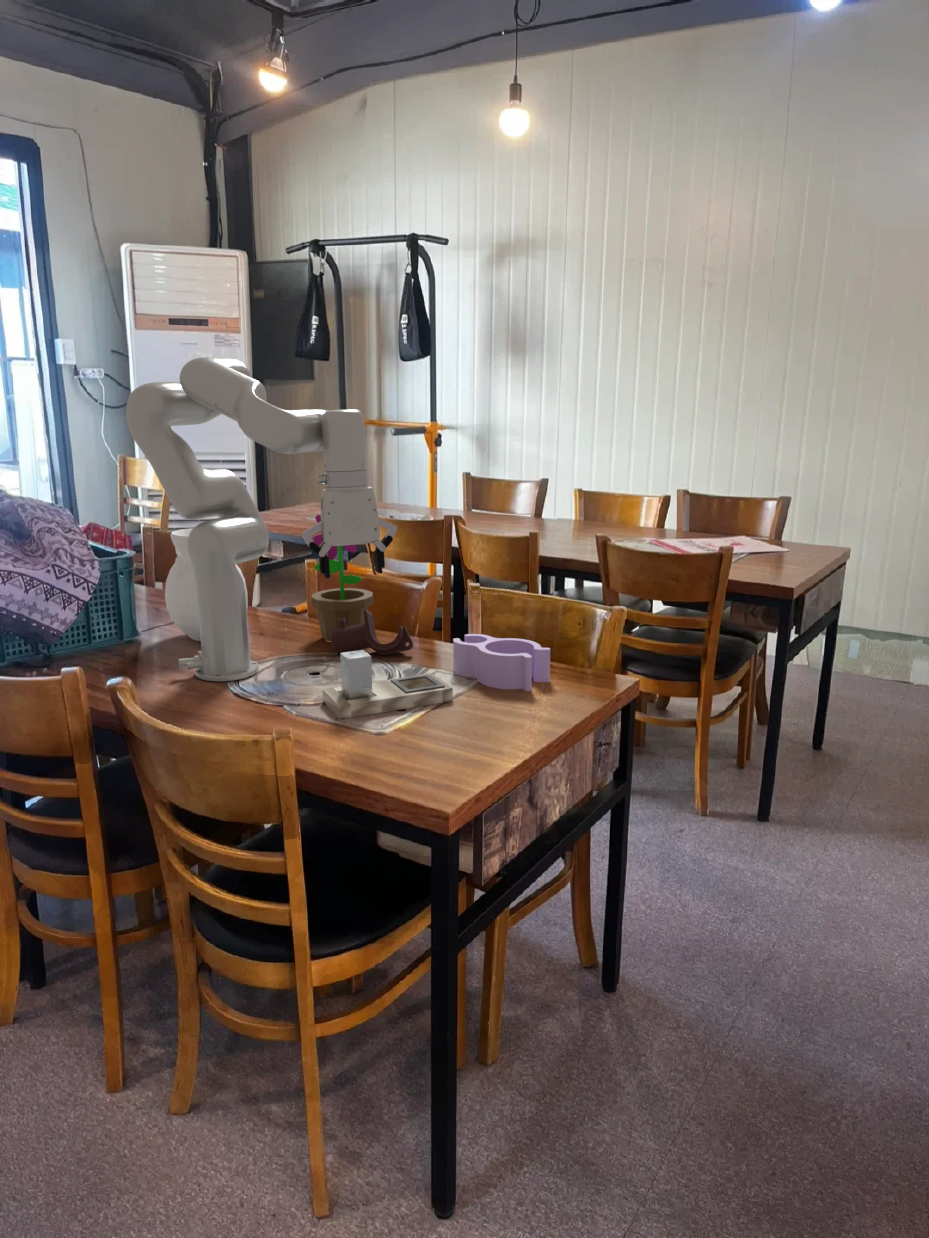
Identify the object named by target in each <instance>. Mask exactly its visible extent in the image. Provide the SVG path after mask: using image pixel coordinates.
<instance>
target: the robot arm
mask: <svg viewBox="0 0 929 1238" xmlns="http://www.w3.org/2000/svg"><path fill="white" fill-rule="evenodd" d="M267 397H268V396H267V391H266V388H265V385H264V384H263V383H261V382H260V380H257V379H255V378H253V376H252V374H251V371H250V370H249V368H248V367H247V366H246V365H245V364H244V363H243V362H242V361H240V360H238V359H235V358H230V357H207V356H205V357H204V356H203V357H195V358H194V359H190V360H189V361H187V362H186V363H185V364H184V365H183V367H182V368H181V370H180V374H179V381H156V382H154V381H153V382H148V383H144V384H142V385H139V386H138V387H136V388H135V389H133V390H132V391H131V392H130V394H129V396H128V398H127V402H126V406H125V407H126V408H125V409H126V410H125V413H126V414H125V415H126V417H125V418H126V423H127V426H128V430H129V432H130V434H131V436H132V439H133V440H134V442H135V443H136V445H137V447H138V448H139V449H140V451H141V452H142V453H143V455H144V456H145V457H146V460H147V461H148V462H149V464H150V465H151V467H152V469H153V471H154V473H155V475H156V478H157V479H158V481H159V483H160V485H161V487H162V488H163V490H164V492H165V495H166V496H167V498H168V500H169V502H170V504H171V505H172V507H173V509H174V510H175V512H176V513H177V514H178V516H179V517H181V518H183V519H185V520H200V519H206V518H212V517H218V518H214V519H209V520H206V521H203V522H199V524H197V525H196V526H193V529H192V531H191V532H190V534H189V536H188V541H187V547H188V553H189V556H190V560H191V563H192V567H193V571H194V576H195V583H196V592H197V601H198V614H199V626H200V638H201V641H200V647H201V650H198V651H197V652H198V653H197V654H196V655H193V657H183V658H178V659H177V662H178V668H179V669H184V668H186V670H193V669H195V670H194V671H195V672H194V673H195V677H196V678H198V679H200V680H203V681H208V682H230V681H231V682H233V681H237V680H243V679H247V678H250V677H252V676H254V675H256V674H257V673H258V672H259V663H257V661H254V660H253V659H252V660H251V650H250V649H251V648H250V637H249V636H250V635H249V624H248V623H249V621H248V608H247V604H246V592H245V585H244V582H243V579H242V577H241V575H240V574H239V572H238V570H237V568H236V565H235V564H242V563H246V562H249V561H253V560H256V559H259V558H260V557H262V556H263V555H264V554H265V553H266V552H267V550H268V548H269V543H270V534H269V531H268V528H267V526H266V523H265V520H264V518H263V517H262V515H261V513H260V511H259V509H258V507H257V506H256V504H255V502H254V499H253V498H252V496H251V494H250V493H249V491H248V489H247V487H246V485H245V483H244V482H243V481H242V479H241V478H240V477H239V476H238V475H237V474H236V473H235V472H233V471H231V470H229V469H227V468H219V467H217V468H208V469H207V468H204V467H203V465H201V462H199V459H197V456H196V455H195V452H194V451H193V449H192V447H191V445H190V444H188V442H187V441H186V440H185V439H184V438H183V437H181V436H180V435H179V434H178V433H176V432H175V431H174V430H173V429H172V426H173V427H177V426H194V425H201V424H206V423H207V422H209V421H212V420H213V419H215V418H217V417H219V416H220V415H223V416H225V417H227V418H229V419H231V420H233V421H235V422H236V423H237V425H238V427H239V428H240V430H241V431H242V432H243V434H244V435H245V436H246V437H247V438H249V439H250V440H252V441H253V442H255V443H257V444H258V445H261V446H264V447H265V448H267V449H269V450H272V451H274V452H277V453H280V454H285V455H296V454H303V453H313V452H322V451H323V463H324V471H323V473H322V474H320V475H316V481H317V484H322V485H324V486H325V488H323V489H322V490H321V491H322V492H321V500H320V515H321V521H320V522H319V523H317V522H316V523H315V524H313V525H311V526H310V527H309V528H307V529H306V530H304V531H303V532H302V533H301V536H302V538H303V540H304V541H305V543H306V544H307V546H308V547H309V549H311V551H313V552H314V553H316V554H317V555H318V561H319V562H318V564H319V565H320V571H319V572H320V573H319V574H321V575H322V574H323V575H322V576H323V577H324V578H325V579H327V580H328V579H330V578H331V574H330V567H329V557H328V555H327V552H328V551H329V549H330V548H331V547H332V546H341V547H343V546H344V545H355V546H356V545H365V544H366V545H367V544H372V545H373V546H374V547H375V548H374V550H373V559H374V560H373V561H374V571H375V572H376V573H378V574H379V575H380V574H383V569H385V567H386V563H385V551H386V550H387V548H388V546H390V545H391V543H392V542H393V540H394V537H395V535H396V533H397V531H398V526H397V525H395V524H393V523H390V521H386V520H384V519H383V518H380V517H379V510H378V505H377V498H376V494H375V490H374V487H373V486H369V478H368V477H369V476H368V475H369V474H368V463H367V461H368V460H367V444H366V431H365V430H366V426H365V416H364V414H363V412H361V411H360V410H359V409H351V408H350V409H332V410H331V409H330V410H327V409H320V408H319V409H318V408H315V409H313V408H312V409H311V408H310V409H309V408H308V409H289V410H286V409H283V408H281V407H278V406H276V405H273V404H271V403H269V402H267V399H268V398H267ZM381 528H384V529H386V535H384V537H383V538H382V539H381V540H380V538H381ZM319 532H320V534H321V535H322V539H323V542H322V543H321V545H317V544H315V542H314V541H313V539H312V538H313V537H314V536H315V535H317V534H319ZM249 676H250V677H249Z"/></svg>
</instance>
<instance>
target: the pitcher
mask: <svg viewBox="0 0 929 1238" xmlns="http://www.w3.org/2000/svg"><path fill="white" fill-rule="evenodd" d="M193 528H194V527H193ZM193 528H192V527H191V528H183V529H177V530H174V531H172V532H171V533H170V535H169V536H170V538H171V542H172V545H173V546H174V548H175V554H176V558H175V559H174V563H173V565H172V566H171V568H170V569H169V572H168V575H167V578H166V580H165V586H164V587H165V590H164V598H165V605H166V608H167V611H168V614H169V617H170V619H171V621H173V622H174V624H175V625H176V626H177V627H178V628H179V630H180V631H181V632H182V633H184V634H185V635H187V636H188V637H189V638H190V639H191V640H194V641H195V642H201V638H200V626H199V614H198V601H197V592H196V583H195V576H194V571H193V567H192V563H191V560H190V556H189V553H188V547H187V541H188V536H189V534H190V532H191V531H192V529H193ZM235 565H236V568H237V570H238V572H239V574H240V575H241V577H242V579H243V582H244V585H245V592H246V604H247V609H248V607H249V606H248V605H249V600H248V599H249V598H248V595H249V594H248V588H247V584H246V578H245V576H244V575H243V573H242V570H241V568H240V567H239V566H238V565H237V564H235Z"/></svg>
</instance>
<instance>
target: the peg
mask: <svg viewBox="0 0 929 1238" xmlns="http://www.w3.org/2000/svg"><path fill="white" fill-rule="evenodd" d="M339 656H340V657H339V658H340V679H341V680H340V681H341V687H342V696H343V697H344V698H345V699H346V700H347V701H348V700H355V699H361V698H367V697H373V696H372V682H373V674H372V673H373V669H372V655H370V654H369V653H368V652H367V651H366V650H364V649H361V650H356V651H351V652H344V653H340V654H339Z"/></svg>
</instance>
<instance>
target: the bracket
mask: <svg viewBox="0 0 929 1238" xmlns="http://www.w3.org/2000/svg"><path fill="white" fill-rule="evenodd" d="M364 621H365V623H362V624H357V625H352V626H348V627H347V622H346V619H345V618H342V619H339V625H340V628H338V629H333V630H331V641H332V643H331V646H332V649H333V651H334V653H335V654H336V653H344V652H351V651H359V650H364V649H365V650H366V649H369V648H370V649H372V650H373V651H374V652H376V653H377V654H379V655H381V656H387V655H393V654H396V653H401V652H402V653H403V652H407V651H411V650H412V649H413V648H414V642H413V640H412V639H413V638H412V637H411V635H410V632H408V629H407V628H406V627H405V626H402V625H400V624H399V625H398V626H397V627H398V631H397V635H396V636H395V638H394V639H393V640H392V641H390V642H388V643H381V642H380V640H379V639H378V637H377V633H376V632H377V631H376V627H375V621H374V616H373V614H372V613H371V612H369V610H368V611H366V610H364ZM407 644H408V645H407Z"/></svg>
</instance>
